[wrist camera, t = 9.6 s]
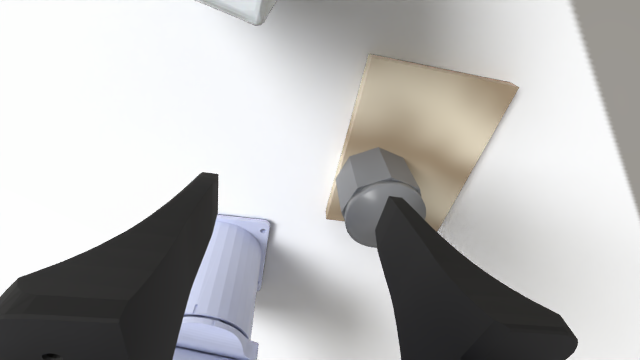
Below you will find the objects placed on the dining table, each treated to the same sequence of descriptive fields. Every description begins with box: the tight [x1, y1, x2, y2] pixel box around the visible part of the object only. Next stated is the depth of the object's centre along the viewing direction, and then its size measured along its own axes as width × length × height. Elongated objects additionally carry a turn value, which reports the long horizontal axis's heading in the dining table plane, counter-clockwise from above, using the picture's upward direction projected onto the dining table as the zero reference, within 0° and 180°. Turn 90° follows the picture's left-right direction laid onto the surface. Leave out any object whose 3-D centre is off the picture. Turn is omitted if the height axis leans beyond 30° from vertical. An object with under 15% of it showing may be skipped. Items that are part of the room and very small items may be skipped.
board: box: [326, 54, 519, 231], centre depth 23 cm, size 13×10×1 cm
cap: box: [336, 147, 426, 248], centre depth 22 cm, size 5×5×4 cm
